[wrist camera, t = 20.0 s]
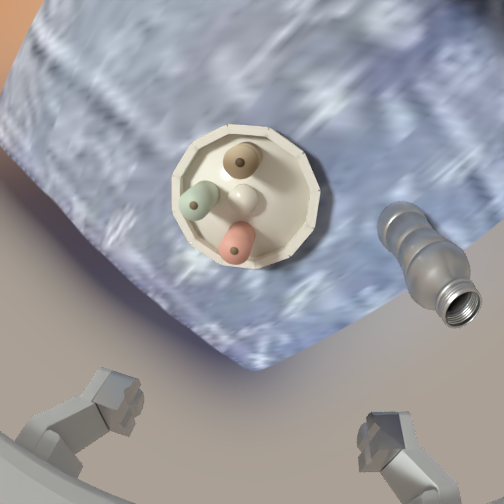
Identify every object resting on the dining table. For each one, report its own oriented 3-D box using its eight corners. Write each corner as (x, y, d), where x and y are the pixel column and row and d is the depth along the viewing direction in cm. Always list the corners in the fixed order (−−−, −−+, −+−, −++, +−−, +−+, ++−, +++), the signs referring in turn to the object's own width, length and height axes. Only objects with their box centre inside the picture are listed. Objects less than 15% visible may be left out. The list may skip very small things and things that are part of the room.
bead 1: (192, 179, 37) (178, 188, 33) (220, 181, 37) (209, 191, 32) (192, 206, 39) (178, 219, 34) (219, 209, 38) (208, 222, 34)
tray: (179, 121, 35) (173, 122, 33) (326, 133, 34) (327, 134, 32) (178, 251, 43) (173, 257, 41) (306, 268, 41) (306, 275, 39)
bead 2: (233, 140, 35) (223, 144, 30) (263, 142, 34) (258, 146, 30) (231, 169, 36) (222, 178, 32) (261, 172, 36) (256, 180, 31)
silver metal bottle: (426, 223, 36) (504, 307, 18) (389, 253, 39) (442, 354, 21) (402, 186, 35) (483, 254, 17) (363, 218, 37) (413, 310, 19)
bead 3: (228, 219, 39) (219, 234, 34) (256, 223, 39) (251, 238, 34) (227, 245, 40) (218, 262, 36) (254, 248, 40) (248, 266, 36)
